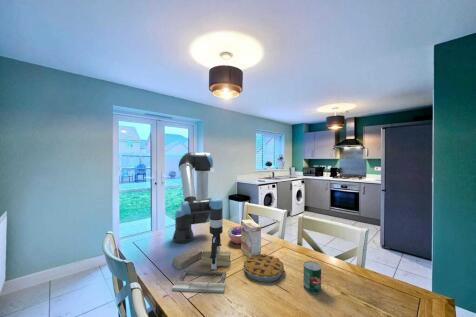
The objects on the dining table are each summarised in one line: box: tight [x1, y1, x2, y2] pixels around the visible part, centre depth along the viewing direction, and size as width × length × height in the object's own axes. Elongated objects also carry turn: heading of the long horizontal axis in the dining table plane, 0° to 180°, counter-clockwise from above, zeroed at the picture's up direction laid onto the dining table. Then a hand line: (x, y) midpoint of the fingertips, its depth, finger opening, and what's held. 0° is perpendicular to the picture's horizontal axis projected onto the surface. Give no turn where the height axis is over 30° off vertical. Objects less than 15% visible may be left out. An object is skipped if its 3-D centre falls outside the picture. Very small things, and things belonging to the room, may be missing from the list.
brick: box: [171, 247, 203, 270], centre depth 119 cm, size 17×8×5 cm, turn 144°
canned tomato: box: [303, 260, 322, 295], centre depth 94 cm, size 8×8×11 cm
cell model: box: [226, 225, 241, 245], centre depth 146 cm, size 17×20×11 cm
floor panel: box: [171, 270, 226, 294], centre depth 99 cm, size 14×24×1 cm, turn 86°
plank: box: [200, 249, 231, 267], centre depth 117 cm, size 5×16×6 cm, turn 86°
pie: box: [242, 253, 285, 283], centre depth 109 cm, size 22×22×5 cm
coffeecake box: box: [240, 219, 262, 258], centre depth 128 cm, size 15×7×20 cm, turn 23°
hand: (216, 262), depth 117 cm, fingers open, 12 cm apart
